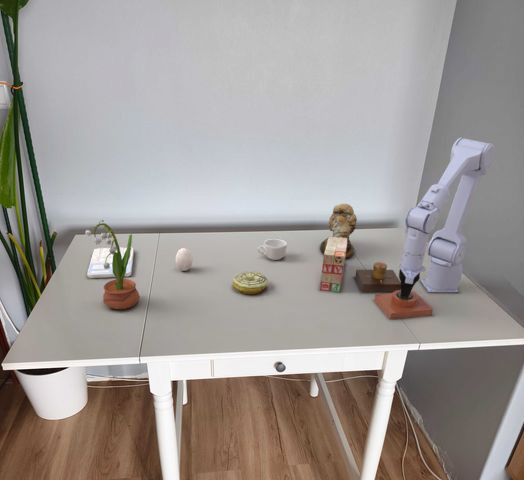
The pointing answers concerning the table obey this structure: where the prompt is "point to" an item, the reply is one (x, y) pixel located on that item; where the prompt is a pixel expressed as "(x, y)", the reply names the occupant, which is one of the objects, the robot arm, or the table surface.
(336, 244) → the stack of blocks
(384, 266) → the dial
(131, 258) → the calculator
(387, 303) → the button base
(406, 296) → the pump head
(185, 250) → the egg
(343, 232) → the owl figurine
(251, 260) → the table surface
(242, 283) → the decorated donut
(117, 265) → the potted flower
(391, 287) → the dial panel
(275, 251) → the teacup
